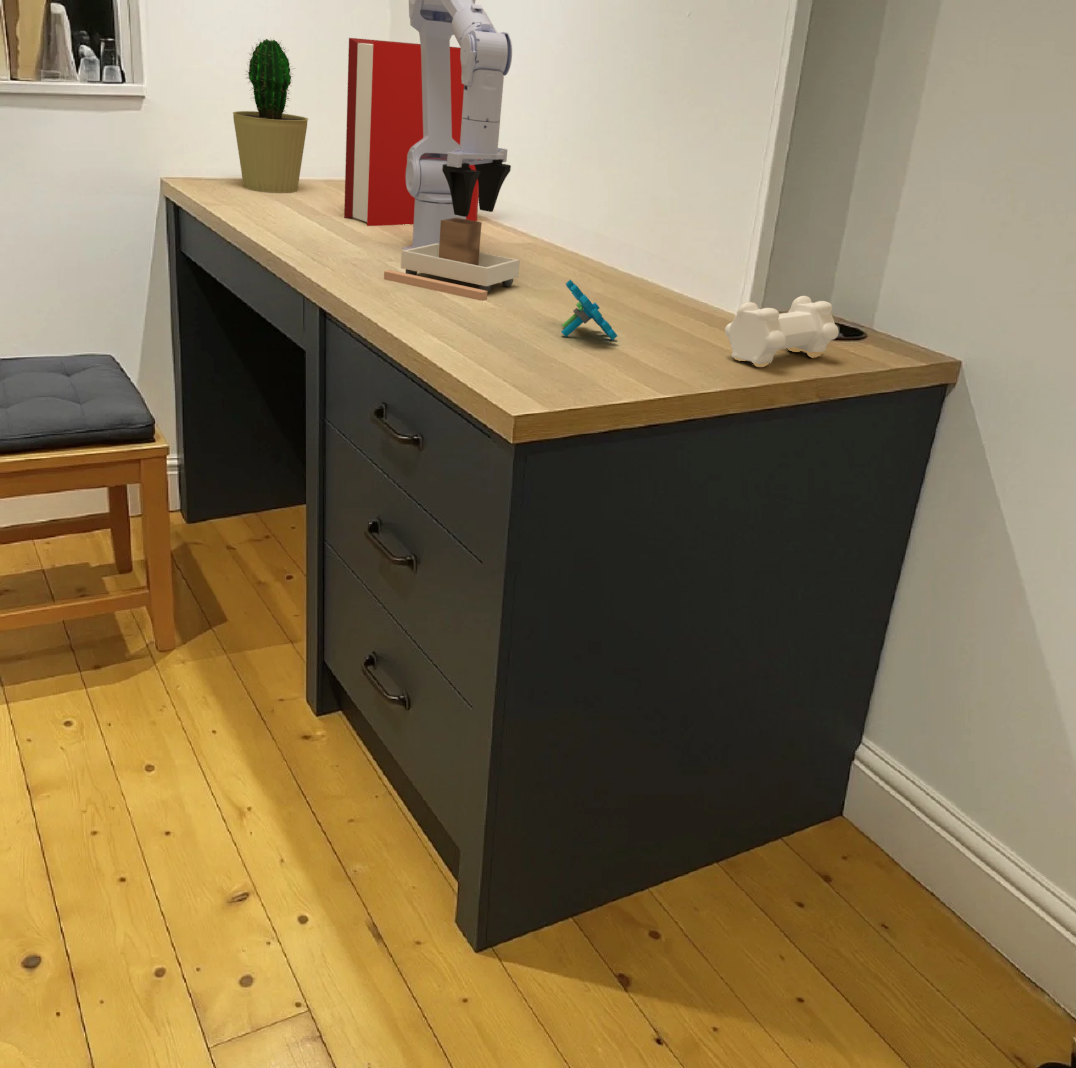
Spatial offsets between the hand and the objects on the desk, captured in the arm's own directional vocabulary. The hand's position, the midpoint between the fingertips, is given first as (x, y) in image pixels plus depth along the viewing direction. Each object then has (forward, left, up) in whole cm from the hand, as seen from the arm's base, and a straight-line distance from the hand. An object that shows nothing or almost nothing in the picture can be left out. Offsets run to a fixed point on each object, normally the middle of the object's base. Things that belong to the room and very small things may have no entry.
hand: (473, 213), depth 170 cm
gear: (+17, +29, -11) cm, 35 cm away
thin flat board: (0, +1, -10) cm, 10 cm away
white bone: (+7, +52, -11) cm, 54 cm away
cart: (+5, +1, -10) cm, 11 cm away
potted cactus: (-43, -74, -11) cm, 86 cm away
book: (-39, -35, -11) cm, 53 cm away
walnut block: (+4, 0, -8) cm, 9 cm away
